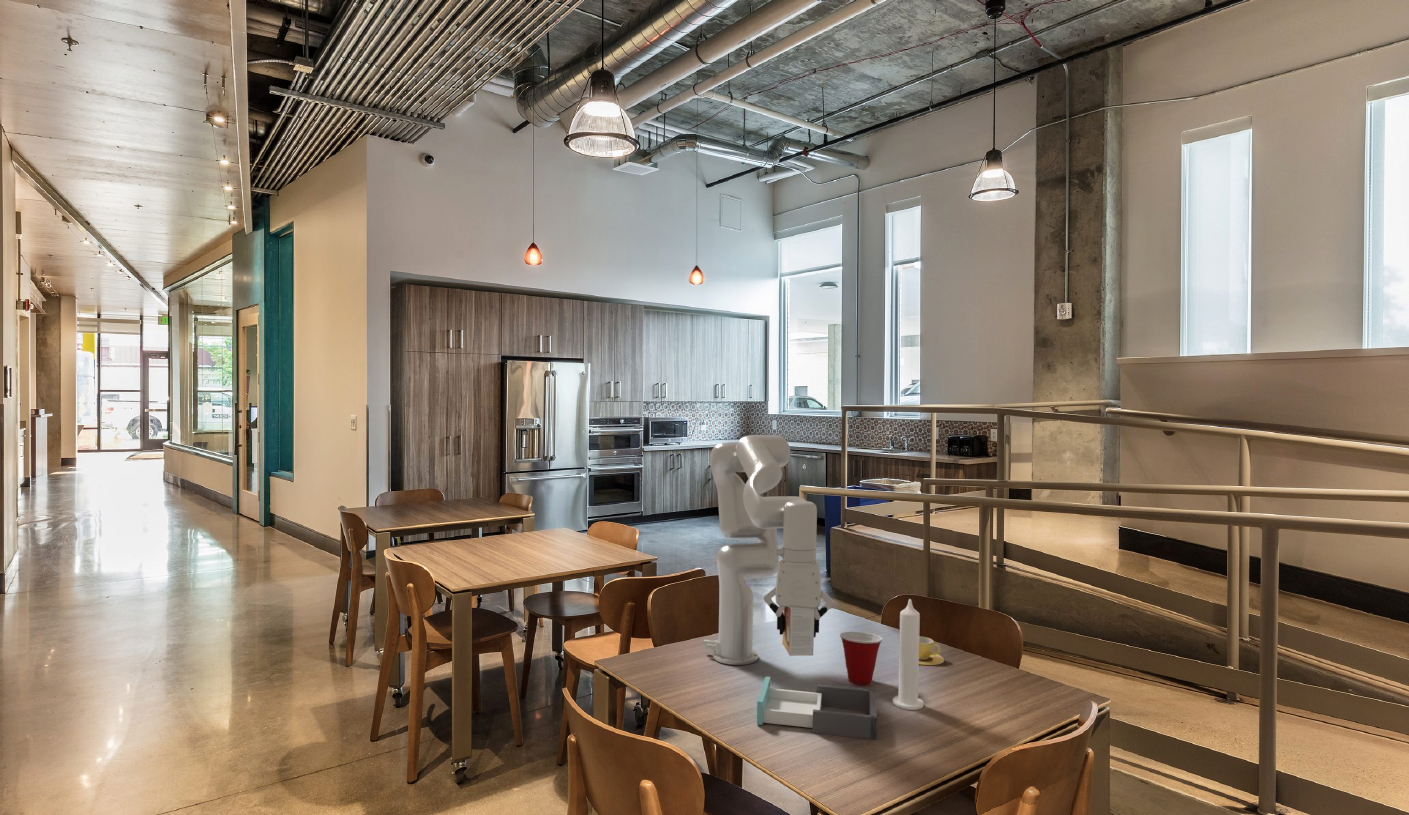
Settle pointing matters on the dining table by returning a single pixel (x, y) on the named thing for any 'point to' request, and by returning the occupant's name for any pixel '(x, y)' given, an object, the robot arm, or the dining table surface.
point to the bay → (846, 721)
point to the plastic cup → (860, 655)
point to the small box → (798, 631)
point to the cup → (928, 651)
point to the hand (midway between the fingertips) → (797, 633)
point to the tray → (786, 706)
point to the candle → (909, 660)
